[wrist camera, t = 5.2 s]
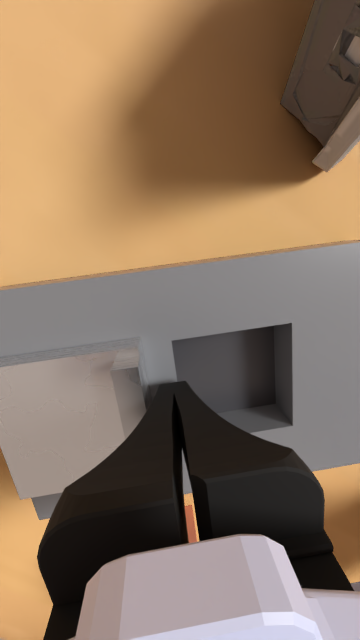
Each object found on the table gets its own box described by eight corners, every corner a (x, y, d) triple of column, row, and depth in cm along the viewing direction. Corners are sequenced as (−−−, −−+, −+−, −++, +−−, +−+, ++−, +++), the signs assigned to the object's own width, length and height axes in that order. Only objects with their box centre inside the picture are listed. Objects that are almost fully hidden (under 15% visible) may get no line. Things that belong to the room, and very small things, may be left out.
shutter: (140, 337, 11) (136, 356, 9) (161, 455, 13) (161, 494, 11) (-9, 358, 11) (-49, 384, 9) (32, 477, 13) (7, 522, 11)
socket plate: (344, 240, 14) (385, 238, 11) (336, 431, 17) (366, 461, 14) (-5, 287, 13) (-42, 296, 10) (57, 479, 16) (39, 519, 14)
